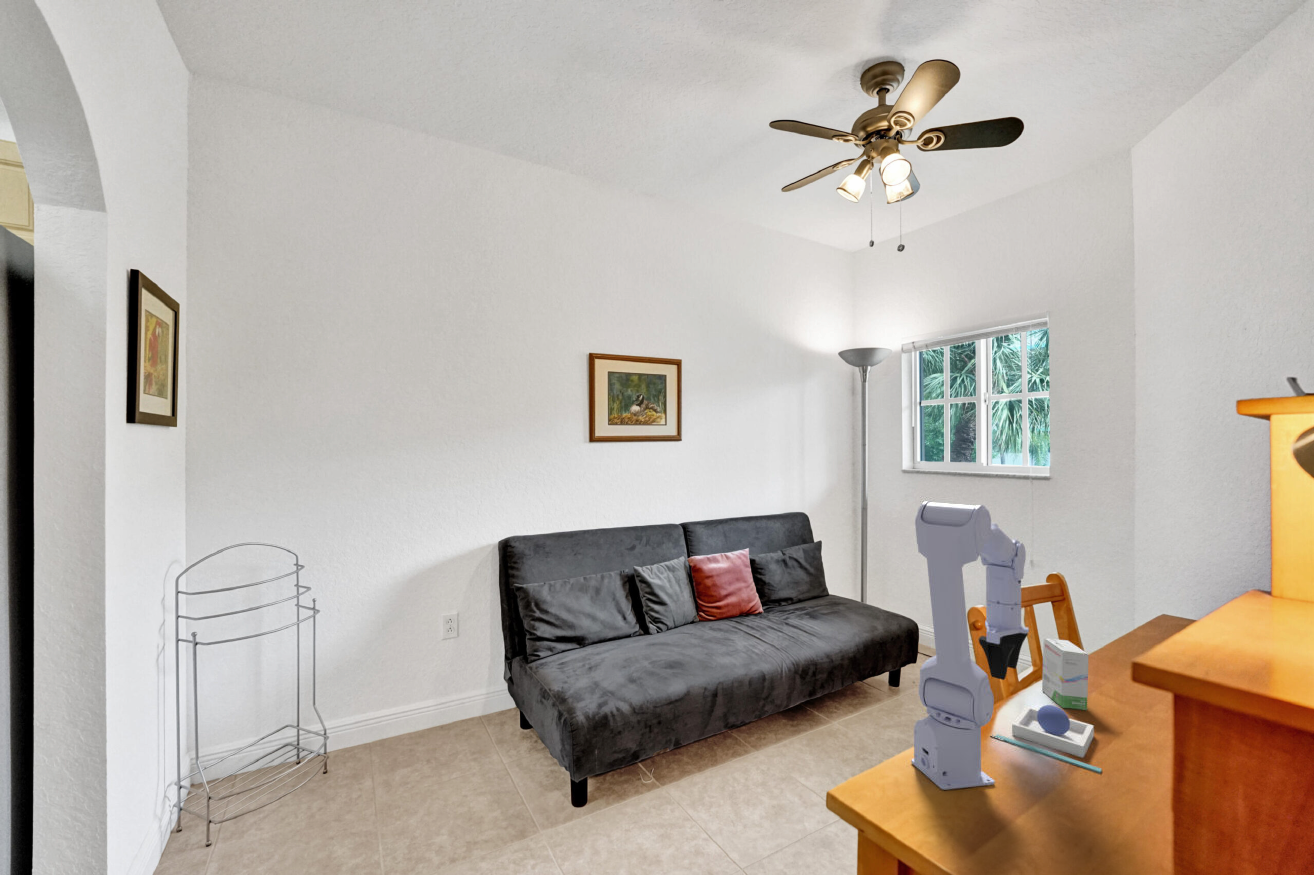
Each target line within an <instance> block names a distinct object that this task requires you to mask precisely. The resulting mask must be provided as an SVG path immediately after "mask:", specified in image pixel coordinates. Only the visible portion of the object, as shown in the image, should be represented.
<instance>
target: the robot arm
mask: <svg viewBox="0 0 1314 875" xmlns="http://www.w3.org/2000/svg"><path fill="white" fill-rule="evenodd" d="M914 523H915V526H914V527H915V535H916V536H915V537H916V543H917V551H918V553H919V554H920V555H922V556H923V557H924V558H926V564H927V574H928V582H929V583H928V584H929V585H928V586H929V594H930V596H929V597H930V605H931V606H930V607H931V614H932V626H933V635H934V636H933V637H934V645H935V647H934V648H935V655H934V656H931V657H930V658H927V660H925V661H924V662H923V664H922V666H921V667H920V670H919V682H918V696H919V700H920V701H921V702H920V703H921V704H922V706H924V707H926V714H927V716H925V717H924V718H920V719H918V720H917V721H916V722H915V724H914V727H913V740H914V741H913V750H914V751H913V758H911V762H910V763H911V764H913V766H915V767H916V768H917V769H918V770H920V772H922V774H924V775H925V776H926V777H927V778H928V779H929V780H930V781H932V782H933V783H934V784H935V785H936V786H938V788H939V789H941V790H954V789H963V788H964V789H965V788H972V787H980V786H981V787H982V786H990V785H995V780H994V779H993V778H992V777H991V776H989V775H988V774H987V773H985V772H984V771H983V770H982V727H984V726H986V725H987V724H988V723H990V721H991V719H992V716H993V714H994V707H995V706H994V705H995V703H994V702H995V701H994V700H995V698H994V694H993V691H992V688H991V685H990V679H989V675H988V673H986V672H985V671H984V670H983V669H982V668H981V667H980V666H979V665H978V664H976V663H975V662H974V661H973V660H972V658H971V653H970V650H971V649H970V642H969V630H968V620H967V619H968V618H967V609H966V608H967V606H966V599H965V598H966V597H965V586H964V584H965V583H964V574H963V573H964V572H963V567H964V565H966V564H970V563H973V562H976V561H977V560H978V559H979V557H980V561H981V564H982V566H984V567H985V588H986V589H985V597H986V598H985V607H986V608H985V612H986V613H985V616H986V617H985V618H986V619H985V621H984V626H985V628H986V632H985V633H986V635H985V636H984V635H981V636H979V637H978V644H979V645H980V646H981V648H982V650H983V653H984V654H985V658H986V661H987V666H988V669H989V673H990V676H991V677H992V678H995V679H999V680H1002V681H1004V680H1006V676H1007V673H1008V668H1010V669H1013V670H1016V669H1017V666H1018V662H1019V659H1020V658H1019V657H1020V653H1021V649H1022V648H1023V647H1022V646H1023V644H1024V642H1025V640H1026V639H1027V637H1028V635H1029V634H1028V633H1029V632H1030V628H1029V627H1028V626H1027V627H1026V626H1023V625H1022V580H1023V579H1024V576H1025V575H1024V574H1025V564H1026V557H1027V556H1026V555H1027V552H1026V547H1025V544H1024V543H1021V542H1020V541H1019V540H1018V539H1011V538H1010V536H1008V535H1007V534H1006V533H1005V532H1004V531H1003V530H1002V529H1001V528H1000V527H999V526H998V524H997V523H993V522H992V517H991V514H990V511H989V509H987V507H986V505H984V504H978V505H972V504H971V505H970V504H958V503H946V502H945V503H944V502H932V501H929V500H927V501H926V500H925V501H924V502H922V503H921V505H920V506H919V507H918V509H917V513H916V516H915V520H914Z"/></svg>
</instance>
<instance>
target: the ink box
mask: <svg viewBox="0 0 1314 875" xmlns="http://www.w3.org/2000/svg"><path fill="white" fill-rule="evenodd" d="M1042 648H1043V650H1042V653H1043V654H1042V655H1043V656H1042V682H1041V683H1042V684H1041V685H1042V686H1041V691H1042V692H1044V693H1045V695H1046V696H1048V697H1049V698H1050V699H1051V700H1053V702H1055V703H1056V704H1057V705H1058V706H1059V707H1060V708H1061V709H1072V710H1082V711H1088V691H1089V690H1088V688H1089V653H1087V652H1086V651H1084V650H1083V649H1081V648H1080V647H1078V646H1077V645H1076V644H1074V643H1072V642H1071V641H1070V640H1066V639H1058V638H1056V639H1055V638H1048V637H1047V638H1043V647H1042Z"/></svg>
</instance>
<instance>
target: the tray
mask: <svg viewBox="0 0 1314 875" xmlns="http://www.w3.org/2000/svg"><path fill="white" fill-rule="evenodd" d="M1038 710H1039V709H1038V708H1034V707H1031V706H1027V705H1026V706H1025V707H1024V709H1023V710H1022V711H1021V712H1020V714H1019V715H1018V716H1017V718H1016V719H1015V720H1014V721H1013V722H1012V723H1011V735H1012V734H1013V735H1012V736H1014V735H1015V736H1014V737H1017V738H1019V739H1024V740H1026V741H1030V742H1032V743H1035V744H1039V745H1043V746H1045V747H1049V748H1051V749H1054V750H1057V751H1060V752H1064V753H1066V754H1069V755H1073V756H1076V757H1078V758H1082V759H1084V758H1085V756H1086V754H1087V752H1088V749H1089V747H1090V746H1091V743H1092V741H1093V739H1094V737H1095V734H1094V733H1095V731H1094V730H1095V729H1094V728H1095V727H1094V726H1095V725H1094V724H1093V725H1092V724H1090V723H1087V722H1083V721H1079V720H1076V719H1072V718H1069V721H1070V728H1069V730H1068V731H1067V732H1066V733H1065V734H1063V735H1052V734H1050V733H1048V732H1046V731H1045V730H1044V729H1043V728H1042V727H1041V726H1040V725H1039V723H1038V720H1037V712H1038Z"/></svg>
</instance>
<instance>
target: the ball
mask: <svg viewBox="0 0 1314 875" xmlns="http://www.w3.org/2000/svg"><path fill="white" fill-rule="evenodd" d="M1069 719H1070V718H1069V716H1068V714H1067V713H1066V712H1065V710H1063V708H1061V707H1058V706H1055V705H1052V704H1046V705H1042V707H1039V709H1038V712H1037V720H1038V723H1039V725H1040V726H1041V727H1042V728H1043V729H1044V730H1045V731H1046V732H1048V733H1050V734H1052V735H1063V734H1065V733H1066V732H1067V731H1068V730H1069V728H1070V721H1069Z"/></svg>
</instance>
